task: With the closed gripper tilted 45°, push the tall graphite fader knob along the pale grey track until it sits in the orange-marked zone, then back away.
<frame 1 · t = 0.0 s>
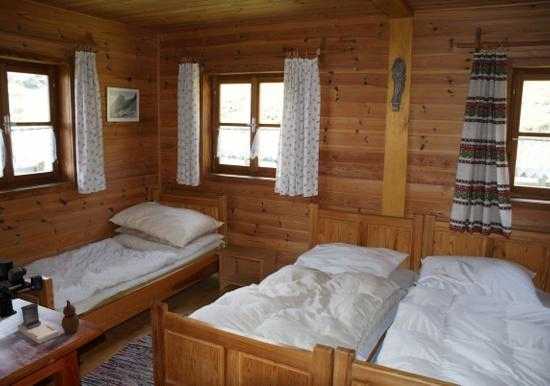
hand: (29, 293, 192), 17 cm above the table, tool horizontal, fingers open, 9 cm apart
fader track: (38, 332, 193), on the table
wooden figurine: (71, 331, 194), on the table
fader knob: (30, 315, 195), point 6 cm above the table, slide at 0.0 cm, touching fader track
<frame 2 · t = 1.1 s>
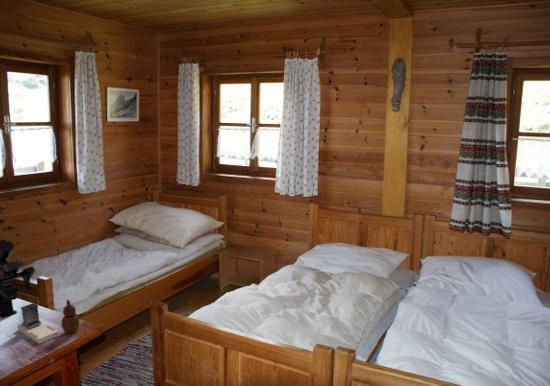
hand: (19, 294, 198), 14 cm above the table, tool tilted 45°, fingers open, 9 cm apart
nothing on the table moved.
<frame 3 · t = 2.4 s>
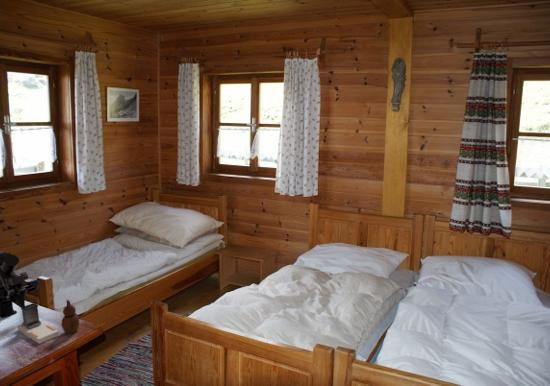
hand: (23, 308, 198), 8 cm above the table, tool tilted 45°, fingers closed
nothing on the table moved.
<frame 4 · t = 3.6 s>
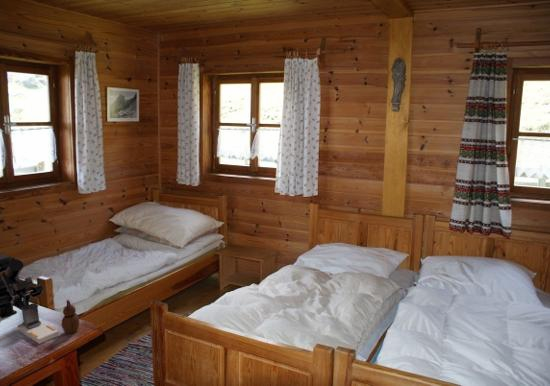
hand: (28, 313, 196), 7 cm above the table, tool tilted 45°, fingers closed, pressing on fader knob
fader knob: (30, 315, 195), point 6 cm above the table, slide at 0.0 cm, touching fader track, gripper
everything else where it was.
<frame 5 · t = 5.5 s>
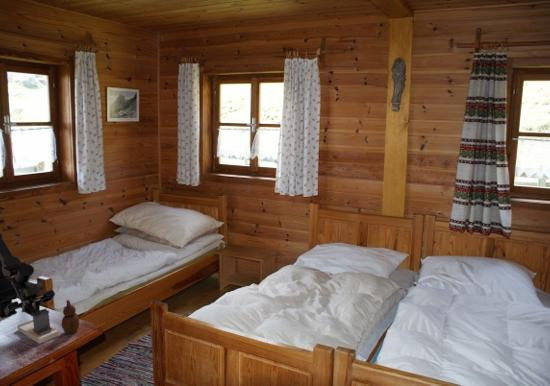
hand: (39, 319, 190), 7 cm above the table, tool tilted 45°, fingers closed, pressing on fader knob
fader knob: (41, 321, 189), point 6 cm above the table, slide at 9.1 cm, touching gripper
everything else where it was.
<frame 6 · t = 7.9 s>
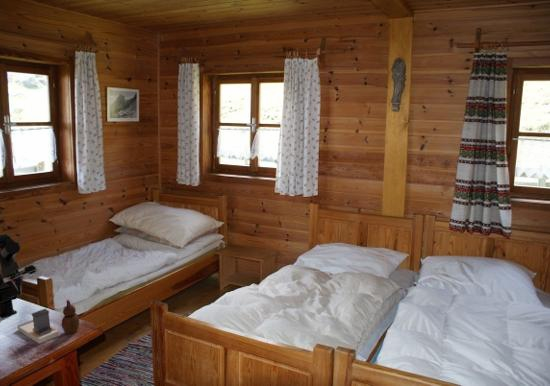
hand: (20, 295, 198), 13 cm above the table, tool tilted 30°, fingers closed
fader knob: (41, 321, 189), point 6 cm above the table, slide at 9.2 cm
everything else where it was.
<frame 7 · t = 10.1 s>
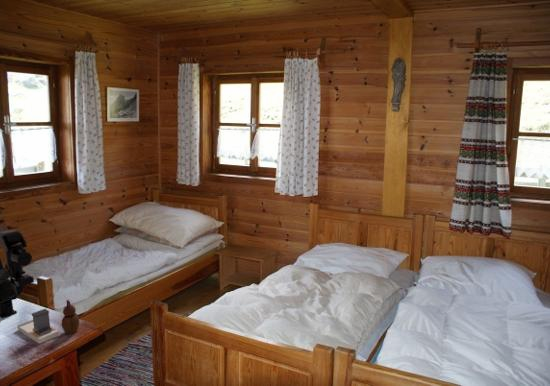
hand: (18, 295, 199), 13 cm above the table, tool pointing down, fingers closed
nothing on the table moved.
at the end: fader knob slide at 9.2 cm; wooden figurine moved 0.2 cm from its start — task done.
